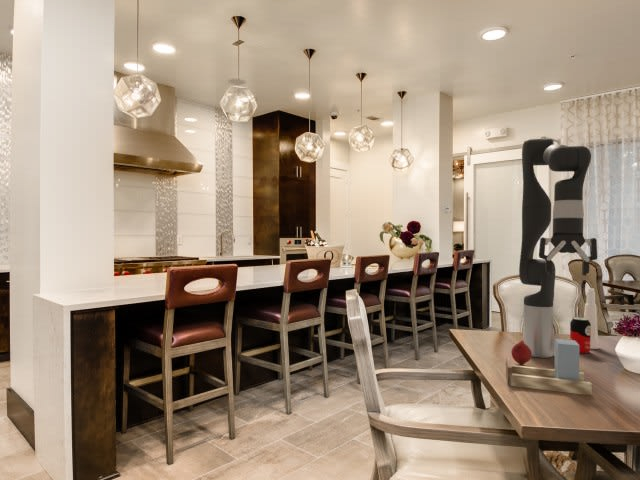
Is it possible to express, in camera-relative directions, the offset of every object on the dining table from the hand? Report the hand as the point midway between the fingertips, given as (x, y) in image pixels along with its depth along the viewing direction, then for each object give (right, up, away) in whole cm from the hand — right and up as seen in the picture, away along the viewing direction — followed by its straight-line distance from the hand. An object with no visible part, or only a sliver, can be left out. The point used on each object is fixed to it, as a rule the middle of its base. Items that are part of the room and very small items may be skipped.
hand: (566, 274), depth 124 cm
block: (-2, -29, -4) cm, 29 cm away
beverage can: (+24, -31, +34) cm, 52 cm away
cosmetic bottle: (+32, -31, +41) cm, 60 cm away
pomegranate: (-5, -30, +16) cm, 35 cm away
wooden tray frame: (-7, -30, -2) cm, 31 cm away
